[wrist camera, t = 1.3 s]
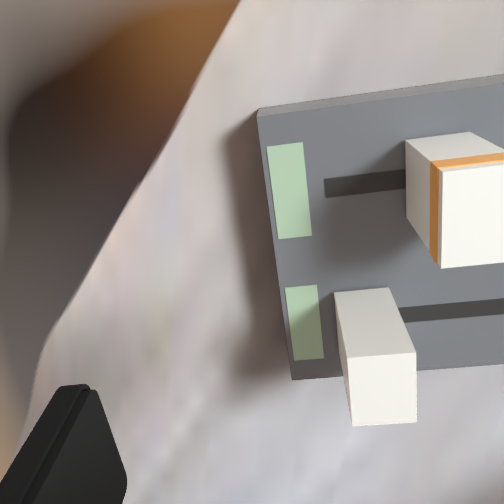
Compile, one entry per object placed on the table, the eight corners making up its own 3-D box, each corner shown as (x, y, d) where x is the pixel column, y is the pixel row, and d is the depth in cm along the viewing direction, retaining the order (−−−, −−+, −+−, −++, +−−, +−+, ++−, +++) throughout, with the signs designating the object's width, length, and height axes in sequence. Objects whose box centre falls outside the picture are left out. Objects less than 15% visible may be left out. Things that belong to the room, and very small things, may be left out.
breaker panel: (593, 61, 24) (755, 75, 16) (557, 329, 31) (660, 439, 22) (259, 108, 26) (247, 142, 18) (291, 351, 33) (294, 460, 24)
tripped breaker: (470, 130, 23) (529, 160, 18) (467, 211, 25) (520, 261, 19) (404, 139, 23) (441, 171, 18) (405, 218, 25) (439, 269, 20)
